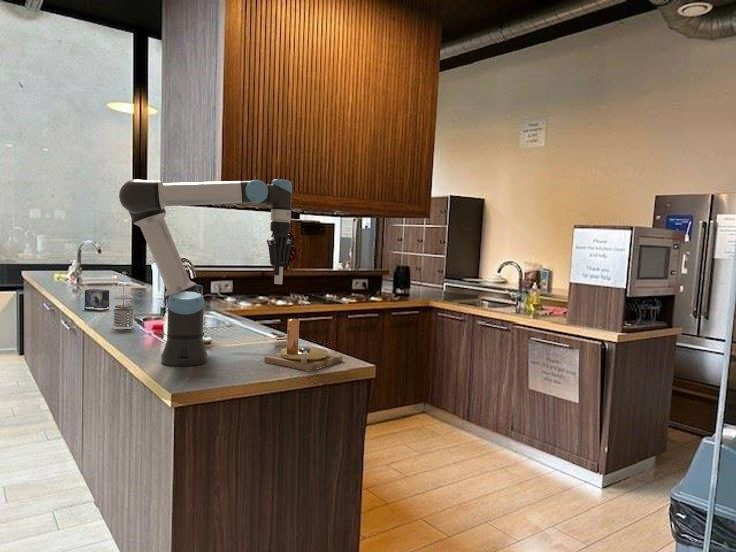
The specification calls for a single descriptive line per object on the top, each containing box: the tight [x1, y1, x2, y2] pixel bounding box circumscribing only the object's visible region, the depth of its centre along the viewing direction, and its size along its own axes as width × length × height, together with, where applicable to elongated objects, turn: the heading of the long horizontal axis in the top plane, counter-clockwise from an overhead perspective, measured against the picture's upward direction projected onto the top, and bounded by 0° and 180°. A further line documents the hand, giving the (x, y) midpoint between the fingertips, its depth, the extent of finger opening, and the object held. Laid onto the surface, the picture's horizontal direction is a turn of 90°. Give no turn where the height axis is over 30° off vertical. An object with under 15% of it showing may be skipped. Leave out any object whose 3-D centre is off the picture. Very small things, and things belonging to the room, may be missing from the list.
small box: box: [84, 288, 110, 308], centre depth 290 cm, size 11×6×10 cm, turn 80°
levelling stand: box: [264, 352, 344, 372], centre depth 198 cm, size 20×20×5 cm
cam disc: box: [280, 318, 329, 361], centre depth 197 cm, size 17×17×14 cm
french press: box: [112, 271, 135, 327], centre depth 242 cm, size 10×12×25 cm
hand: (278, 283), depth 209 cm, fingers closed
